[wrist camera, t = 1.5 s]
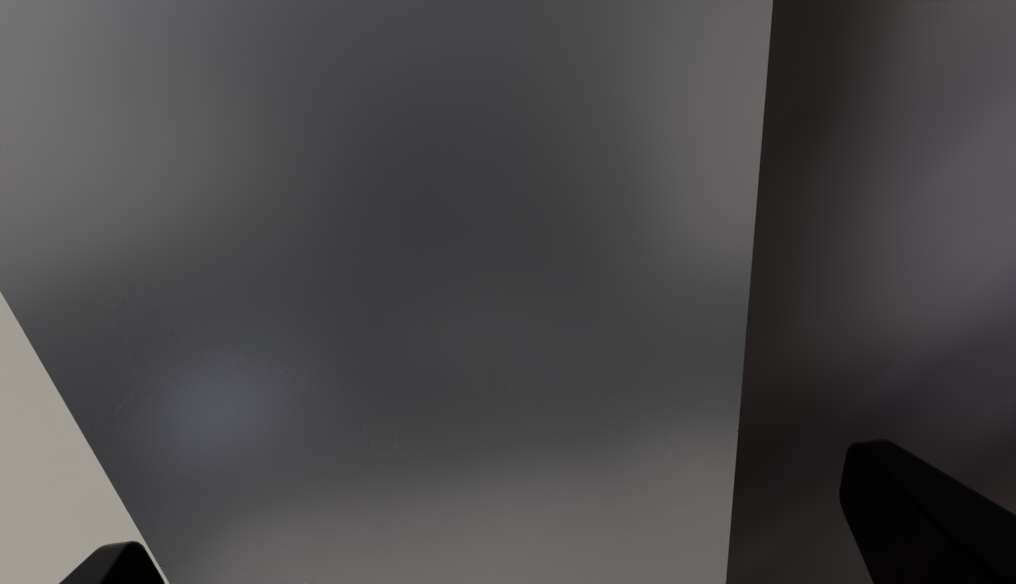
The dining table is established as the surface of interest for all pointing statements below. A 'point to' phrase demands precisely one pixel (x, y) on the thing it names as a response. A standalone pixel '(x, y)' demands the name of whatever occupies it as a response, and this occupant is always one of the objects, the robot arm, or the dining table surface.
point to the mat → (48, 475)
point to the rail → (394, 277)
